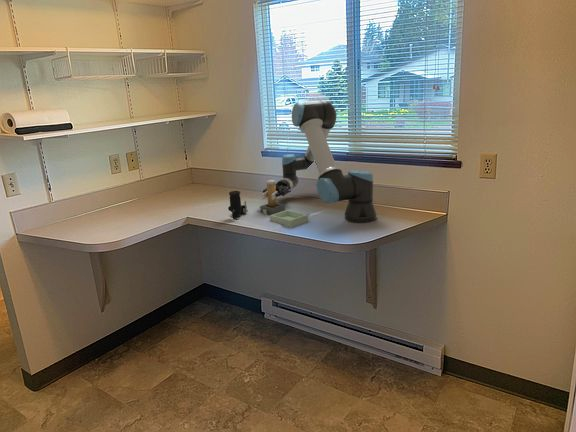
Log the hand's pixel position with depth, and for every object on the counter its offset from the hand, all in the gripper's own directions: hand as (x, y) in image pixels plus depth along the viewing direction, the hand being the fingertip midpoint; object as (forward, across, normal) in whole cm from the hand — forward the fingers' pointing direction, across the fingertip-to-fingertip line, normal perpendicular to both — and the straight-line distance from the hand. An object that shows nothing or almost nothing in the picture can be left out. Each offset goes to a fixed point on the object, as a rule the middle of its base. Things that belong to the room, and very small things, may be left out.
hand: (267, 196), depth 223 cm
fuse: (-5, 0, -9) cm, 10 cm away
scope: (+7, +14, -10) cm, 19 cm away
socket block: (-5, 0, -10) cm, 11 cm away
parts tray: (+8, -14, -10) cm, 19 cm away
